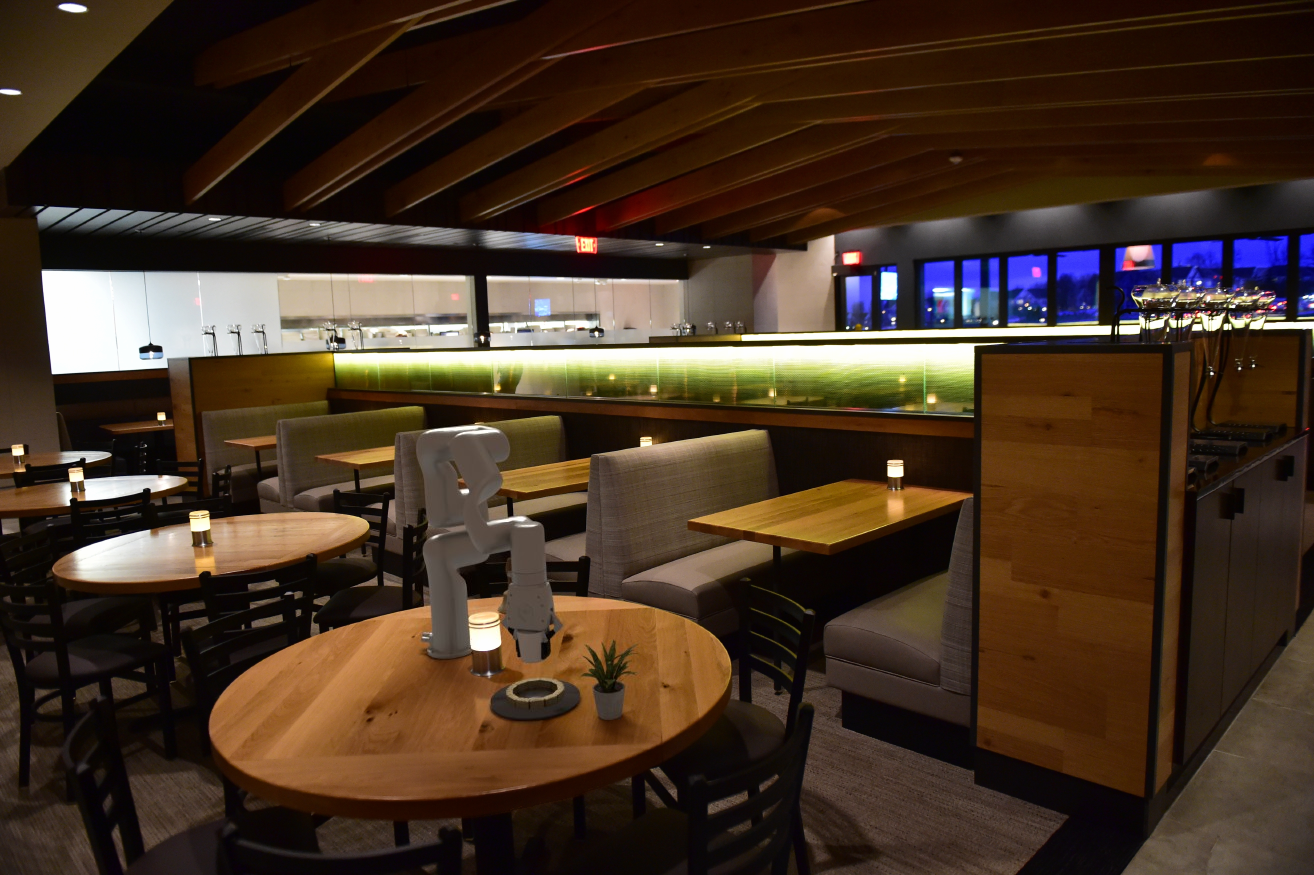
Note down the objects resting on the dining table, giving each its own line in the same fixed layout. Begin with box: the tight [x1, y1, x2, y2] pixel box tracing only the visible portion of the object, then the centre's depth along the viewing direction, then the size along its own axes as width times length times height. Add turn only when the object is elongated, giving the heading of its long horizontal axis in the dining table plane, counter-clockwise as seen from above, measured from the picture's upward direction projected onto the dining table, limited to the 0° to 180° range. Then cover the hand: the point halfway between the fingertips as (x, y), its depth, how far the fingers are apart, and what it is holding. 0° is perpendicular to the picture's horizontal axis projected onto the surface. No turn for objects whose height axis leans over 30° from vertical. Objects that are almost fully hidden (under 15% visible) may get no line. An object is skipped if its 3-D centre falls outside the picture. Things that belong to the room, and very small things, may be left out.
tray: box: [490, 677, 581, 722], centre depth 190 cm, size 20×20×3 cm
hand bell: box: [497, 557, 513, 614], centre depth 256 cm, size 8×8×16 cm
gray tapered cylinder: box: [517, 629, 547, 664], centre depth 189 cm, size 7×7×7 cm
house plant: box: [579, 639, 641, 721], centre depth 180 cm, size 14×14×16 cm
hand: (533, 655), depth 189 cm, fingers closed on gray tapered cylinder, 5 cm apart
